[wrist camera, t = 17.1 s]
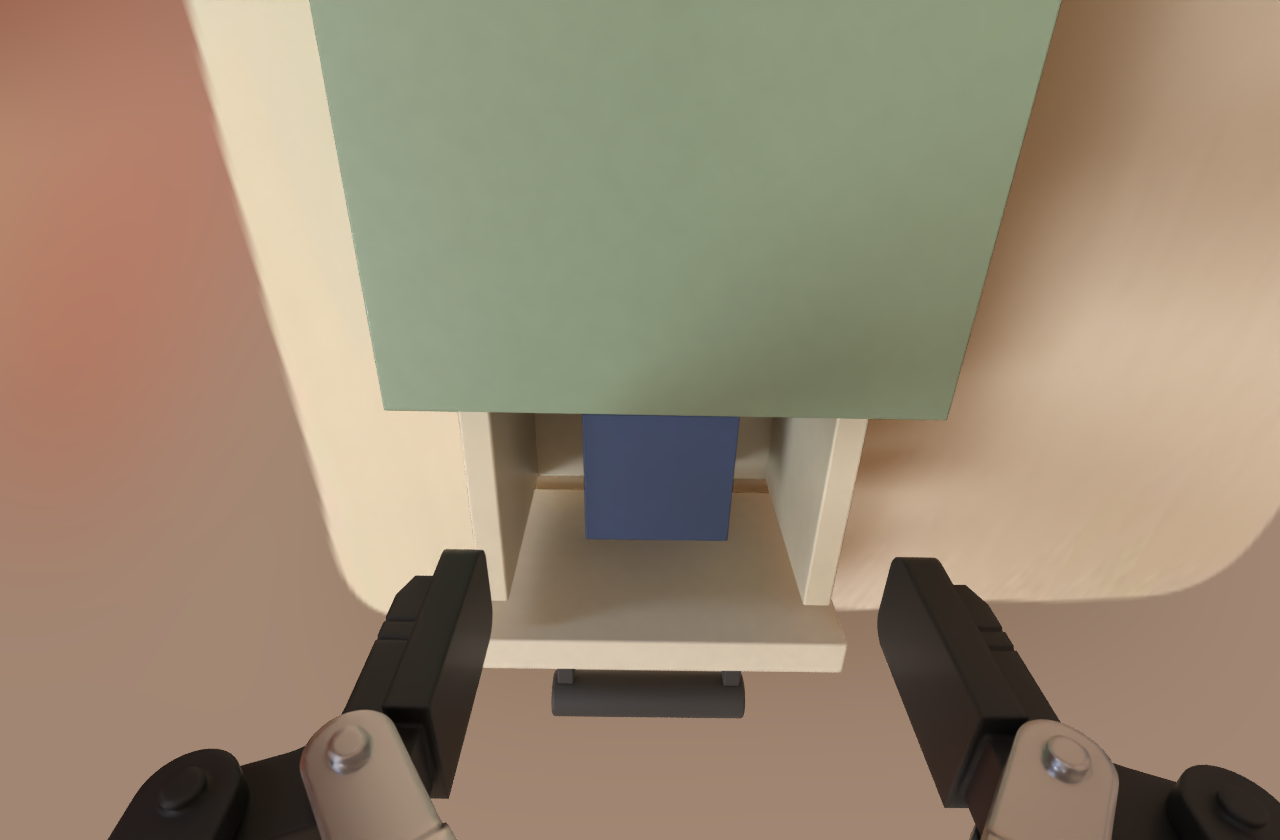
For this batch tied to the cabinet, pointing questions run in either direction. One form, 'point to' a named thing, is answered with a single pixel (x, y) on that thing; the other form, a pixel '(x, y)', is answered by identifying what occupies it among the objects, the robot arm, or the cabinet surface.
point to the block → (658, 476)
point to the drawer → (661, 570)
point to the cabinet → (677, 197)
